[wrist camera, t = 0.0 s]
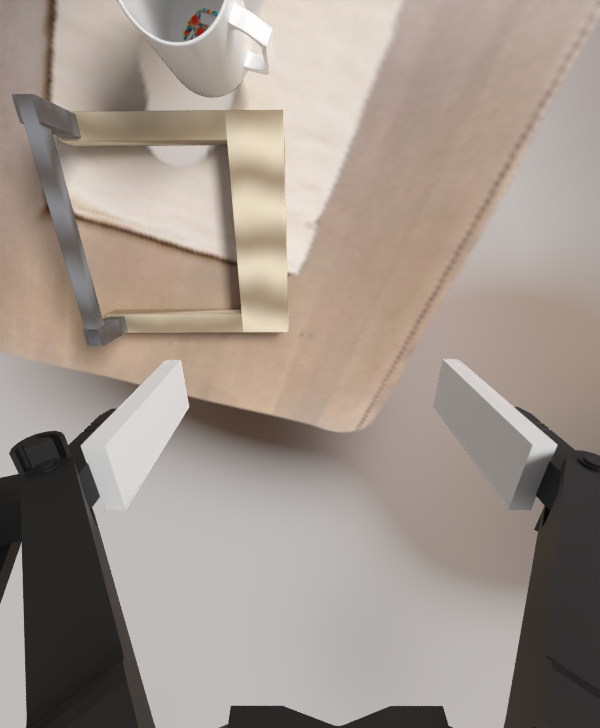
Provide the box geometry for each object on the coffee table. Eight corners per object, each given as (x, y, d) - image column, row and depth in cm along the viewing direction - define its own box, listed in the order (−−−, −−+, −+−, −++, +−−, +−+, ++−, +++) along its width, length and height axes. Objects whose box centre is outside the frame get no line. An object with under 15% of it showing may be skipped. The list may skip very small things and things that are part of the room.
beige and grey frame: (67, 119, 35) (4, 90, 27) (283, 117, 34) (279, 88, 27) (119, 327, 44) (84, 347, 37) (288, 326, 44) (285, 346, 37)
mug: (157, 74, 33) (91, 4, 23) (181, -34, 30) (118, -172, 20) (262, 133, 35) (245, 93, 25) (295, 37, 32) (292, -54, 21)
